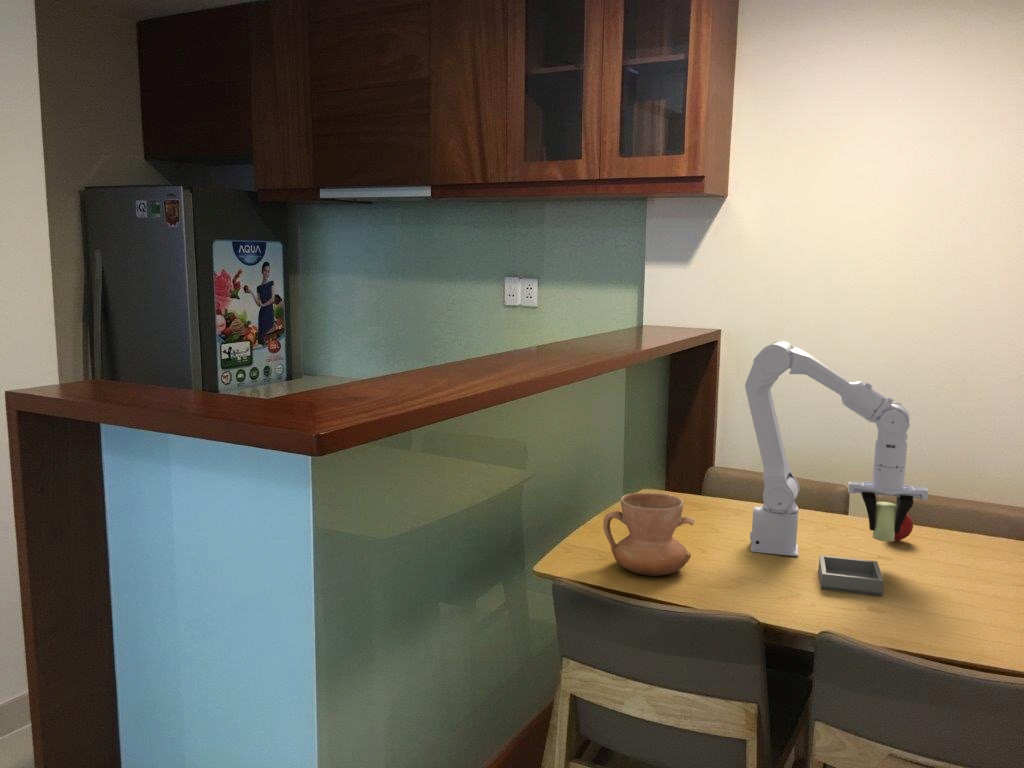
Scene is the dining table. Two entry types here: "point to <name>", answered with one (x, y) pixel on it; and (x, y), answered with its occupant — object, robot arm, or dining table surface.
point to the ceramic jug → (649, 534)
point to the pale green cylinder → (885, 521)
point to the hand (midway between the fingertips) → (884, 530)
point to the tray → (850, 575)
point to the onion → (904, 528)
